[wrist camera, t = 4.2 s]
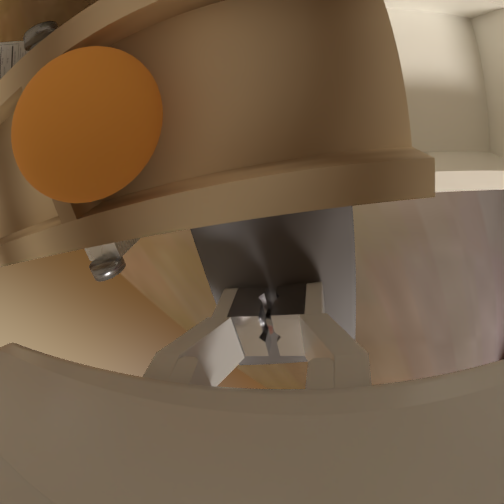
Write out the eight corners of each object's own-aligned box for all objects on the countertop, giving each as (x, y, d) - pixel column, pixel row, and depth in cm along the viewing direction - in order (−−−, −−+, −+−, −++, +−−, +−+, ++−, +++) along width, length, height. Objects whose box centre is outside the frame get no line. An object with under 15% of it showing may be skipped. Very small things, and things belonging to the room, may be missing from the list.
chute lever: (94, 297, 20) (43, 366, 14) (26, 125, 13) (-60, 157, 7) (372, 272, 16) (406, 376, 9) (338, 11, 9) (381, -62, 3)
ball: (61, 86, 7) (-29, 98, 3) (166, 35, 6) (94, -2, 3) (90, 191, 9) (14, 246, 5) (196, 159, 8) (144, 205, 5)
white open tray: (263, 6, 12) (245, -23, 8) (473, 10, 8) (513, -4, 4) (301, 175, 17) (297, 204, 13) (495, 164, 13) (537, 189, 9)
